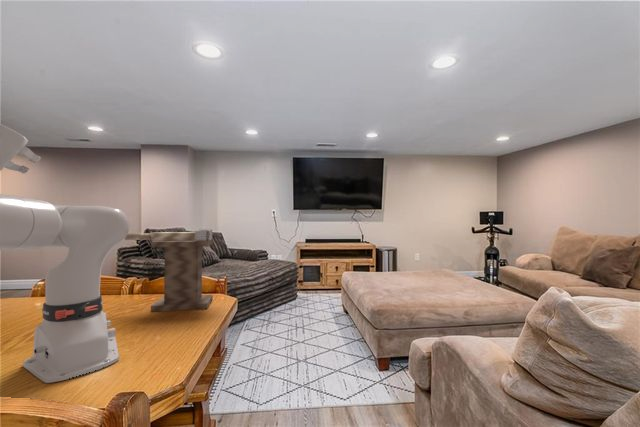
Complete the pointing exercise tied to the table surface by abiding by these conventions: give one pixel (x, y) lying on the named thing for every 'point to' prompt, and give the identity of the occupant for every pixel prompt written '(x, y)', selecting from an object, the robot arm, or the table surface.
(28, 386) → the table surface
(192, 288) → the walnut stand
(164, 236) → the ash rail
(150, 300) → the table surface
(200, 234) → the cup bracket
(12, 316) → the table surface
